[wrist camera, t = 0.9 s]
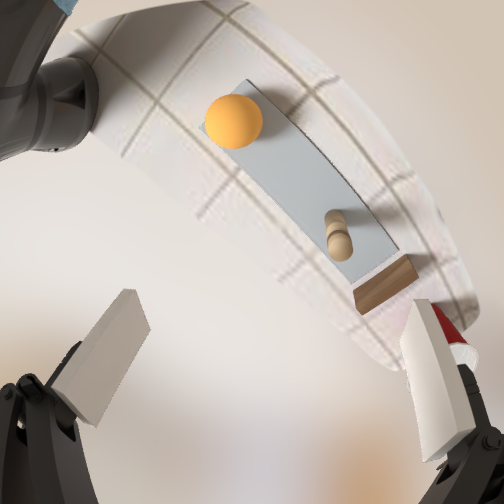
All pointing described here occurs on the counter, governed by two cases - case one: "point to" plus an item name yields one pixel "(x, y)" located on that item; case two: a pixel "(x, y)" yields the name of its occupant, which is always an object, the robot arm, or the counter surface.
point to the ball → (233, 121)
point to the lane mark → (308, 187)
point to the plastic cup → (455, 344)
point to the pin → (337, 236)
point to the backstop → (384, 285)
